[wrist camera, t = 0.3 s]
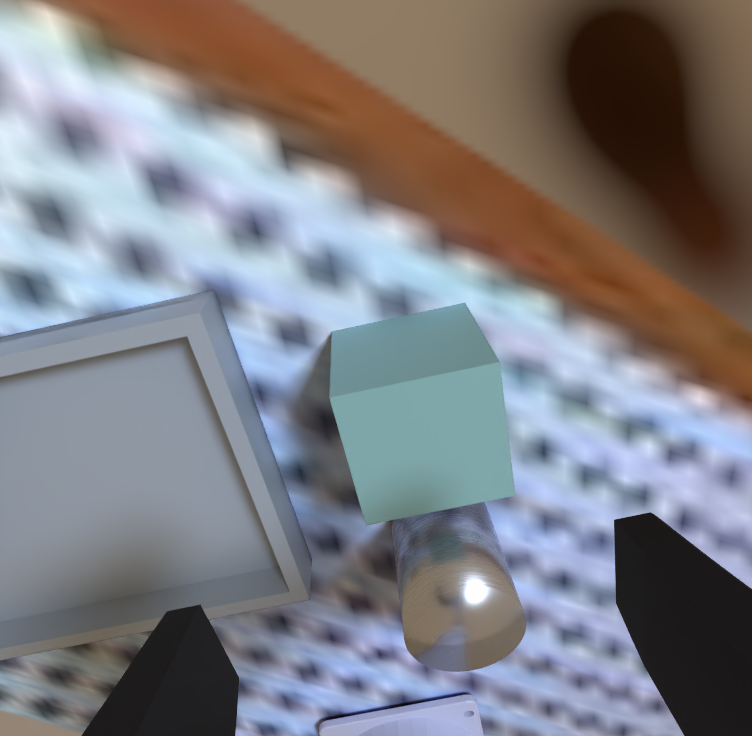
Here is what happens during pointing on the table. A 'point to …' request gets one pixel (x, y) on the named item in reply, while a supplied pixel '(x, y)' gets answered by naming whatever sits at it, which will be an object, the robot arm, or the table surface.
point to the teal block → (420, 414)
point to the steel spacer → (455, 589)
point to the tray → (136, 480)
